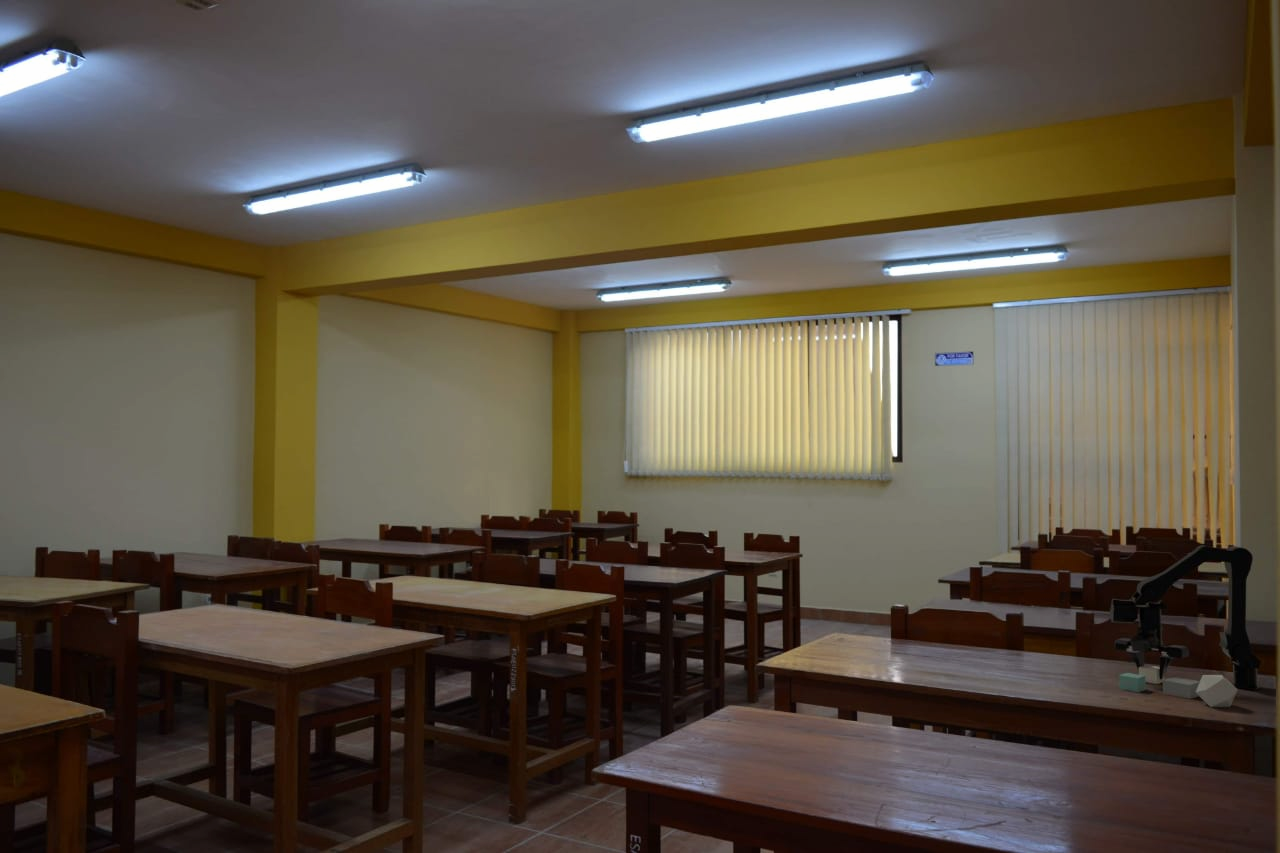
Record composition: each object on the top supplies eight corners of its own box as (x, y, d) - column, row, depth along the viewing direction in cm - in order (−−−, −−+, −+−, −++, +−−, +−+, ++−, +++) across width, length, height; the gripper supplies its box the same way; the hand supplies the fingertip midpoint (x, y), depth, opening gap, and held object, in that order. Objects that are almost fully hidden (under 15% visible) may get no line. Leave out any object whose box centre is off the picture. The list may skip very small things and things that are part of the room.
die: (1236, 714, 236) (1247, 681, 239) (1203, 696, 237) (1215, 663, 241) (1217, 717, 243) (1228, 685, 247) (1185, 700, 245) (1197, 668, 248)
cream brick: (1146, 678, 274) (1146, 665, 274) (1164, 681, 270) (1164, 667, 270) (1139, 680, 271) (1138, 667, 271) (1157, 684, 267) (1156, 670, 267)
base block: (1175, 691, 259) (1174, 676, 259) (1201, 696, 253) (1201, 681, 253) (1162, 694, 255) (1162, 680, 255) (1189, 699, 249) (1189, 684, 249)
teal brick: (1127, 687, 264) (1126, 672, 264) (1145, 690, 260) (1145, 675, 260) (1119, 689, 260) (1119, 675, 261) (1138, 692, 257) (1137, 678, 257)
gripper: (1105, 622, 273) (1106, 675, 273) (1173, 631, 259) (1174, 687, 258) (1122, 619, 280) (1123, 671, 280) (1189, 627, 266) (1190, 681, 265)
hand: (1151, 677), depth 270 cm, fingers closed on cream brick, 5 cm apart
